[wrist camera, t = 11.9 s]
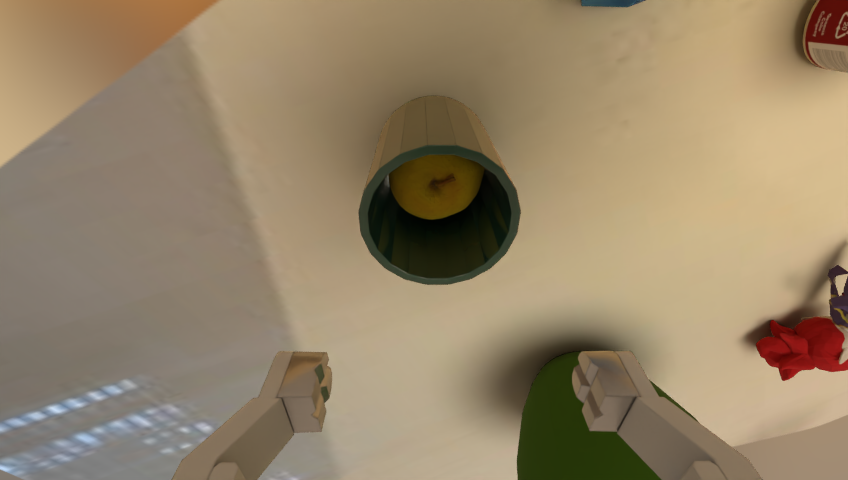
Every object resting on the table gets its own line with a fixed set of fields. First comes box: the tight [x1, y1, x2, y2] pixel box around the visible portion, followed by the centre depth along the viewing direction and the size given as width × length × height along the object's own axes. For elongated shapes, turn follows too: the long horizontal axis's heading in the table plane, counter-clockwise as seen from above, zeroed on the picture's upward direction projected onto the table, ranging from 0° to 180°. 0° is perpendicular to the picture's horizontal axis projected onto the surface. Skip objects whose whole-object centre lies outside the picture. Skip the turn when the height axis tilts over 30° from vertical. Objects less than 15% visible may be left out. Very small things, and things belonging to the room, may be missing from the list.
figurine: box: [756, 265, 848, 381], centre depth 36 cm, size 6×8×15 cm
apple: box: [389, 155, 484, 220], centre depth 25 cm, size 6×6×8 cm
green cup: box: [359, 96, 521, 285], centre depth 24 cm, size 9×9×11 cm
